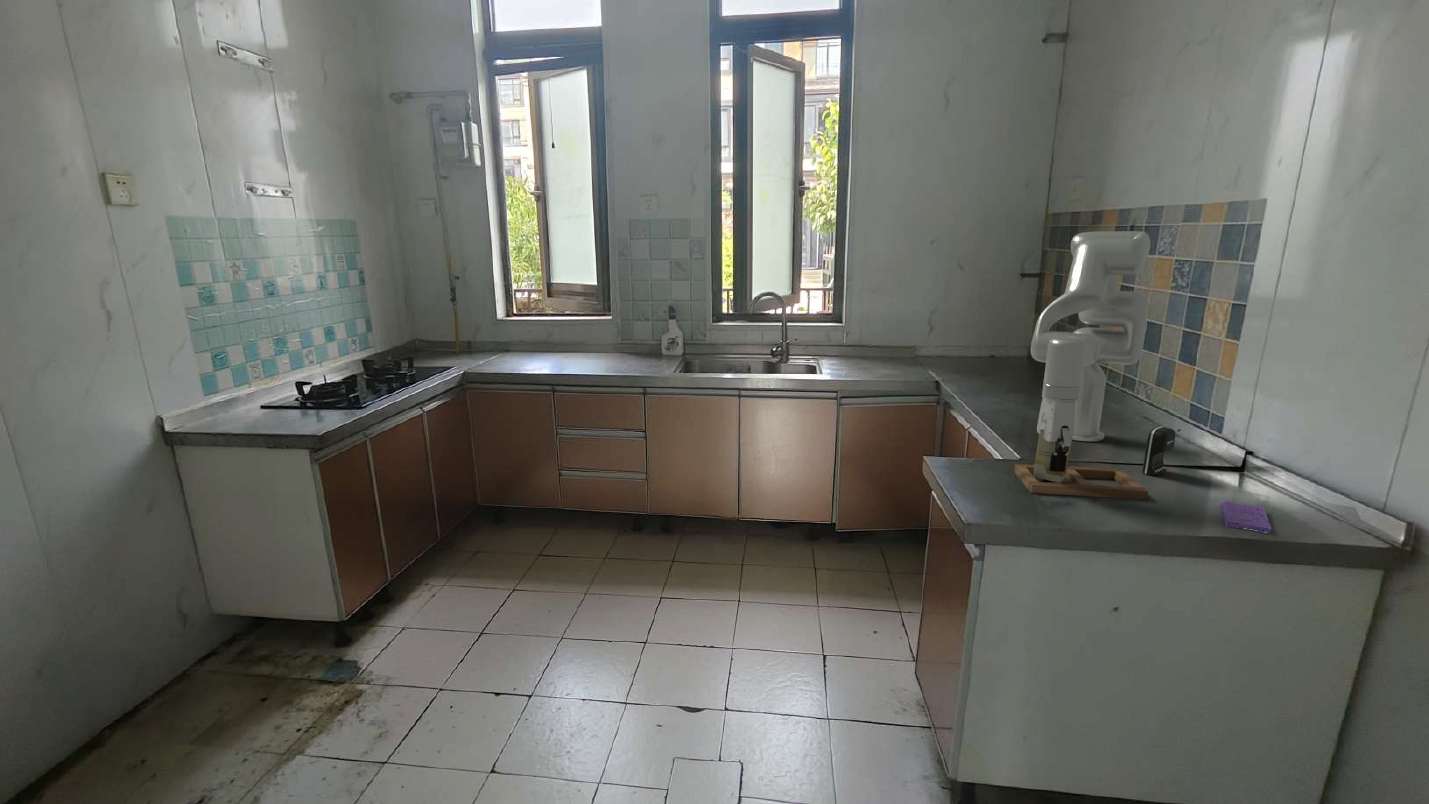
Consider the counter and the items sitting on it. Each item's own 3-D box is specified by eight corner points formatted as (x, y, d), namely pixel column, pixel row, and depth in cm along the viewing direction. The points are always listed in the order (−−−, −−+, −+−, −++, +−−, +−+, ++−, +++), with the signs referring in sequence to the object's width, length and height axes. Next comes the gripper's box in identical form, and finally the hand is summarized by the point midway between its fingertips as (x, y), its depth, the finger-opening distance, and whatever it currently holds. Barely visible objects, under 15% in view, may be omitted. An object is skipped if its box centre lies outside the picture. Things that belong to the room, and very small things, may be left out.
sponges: (1224, 528, 127) (1226, 519, 126) (1220, 507, 137) (1222, 499, 136) (1270, 537, 123) (1272, 528, 122) (1262, 514, 133) (1264, 506, 132)
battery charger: (1158, 478, 152) (1166, 433, 149) (1141, 473, 155) (1148, 429, 152) (1171, 472, 155) (1179, 428, 153) (1153, 468, 158) (1161, 424, 156)
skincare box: (1032, 477, 150) (1038, 428, 147) (1038, 472, 153) (1044, 423, 150) (1062, 483, 145) (1068, 433, 142) (1067, 478, 148) (1074, 429, 145)
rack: (1013, 471, 157) (1014, 463, 156) (1118, 476, 153) (1120, 468, 152) (1030, 492, 144) (1031, 484, 143) (1146, 499, 140) (1148, 490, 139)
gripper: (1031, 383, 153) (1023, 452, 157) (1056, 400, 136) (1046, 478, 141) (1065, 383, 151) (1055, 454, 156) (1094, 401, 135) (1082, 480, 139)
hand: (1051, 464), depth 148 cm, fingers closed on skincare box, 6 cm apart
